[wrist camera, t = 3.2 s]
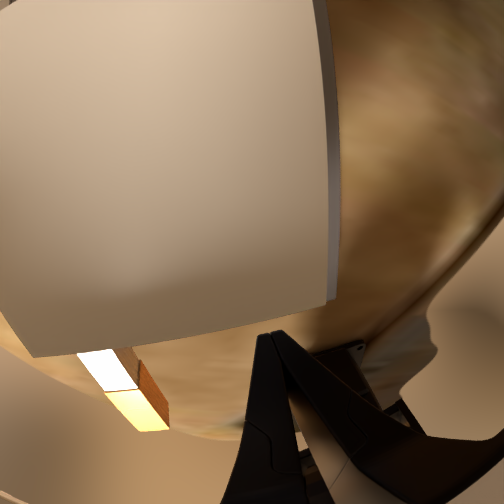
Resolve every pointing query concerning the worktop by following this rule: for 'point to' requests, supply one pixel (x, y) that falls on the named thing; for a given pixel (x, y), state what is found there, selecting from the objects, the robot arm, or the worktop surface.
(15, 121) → the plug
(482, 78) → the worktop surface
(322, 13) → the socket block
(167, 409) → the latch bar
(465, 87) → the worktop surface
